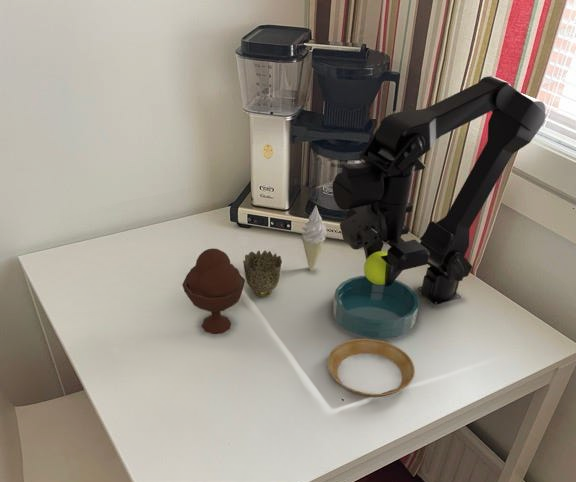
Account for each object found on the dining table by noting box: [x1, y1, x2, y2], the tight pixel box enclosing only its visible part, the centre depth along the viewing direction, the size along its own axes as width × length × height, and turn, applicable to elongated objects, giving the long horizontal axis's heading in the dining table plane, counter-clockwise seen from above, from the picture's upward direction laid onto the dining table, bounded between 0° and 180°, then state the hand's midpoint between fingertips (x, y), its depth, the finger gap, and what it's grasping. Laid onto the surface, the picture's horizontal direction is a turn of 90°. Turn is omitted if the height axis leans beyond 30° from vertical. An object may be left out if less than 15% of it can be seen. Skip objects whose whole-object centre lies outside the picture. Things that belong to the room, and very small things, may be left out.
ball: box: [363, 250, 388, 285], centre depth 111 cm, size 6×6×6 cm
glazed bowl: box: [332, 275, 420, 340], centre depth 117 cm, size 16×16×4 cm
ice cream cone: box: [300, 205, 327, 271], centre depth 125 cm, size 5×5×15 cm
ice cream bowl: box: [181, 247, 246, 335], centre depth 110 cm, size 11×11×15 cm
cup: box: [242, 250, 283, 298], centre depth 120 cm, size 8×7×8 cm
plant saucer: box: [327, 338, 416, 398], centre depth 104 cm, size 15×15×3 cm
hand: (379, 277), depth 112 cm, fingers closed on ball, 6 cm apart
